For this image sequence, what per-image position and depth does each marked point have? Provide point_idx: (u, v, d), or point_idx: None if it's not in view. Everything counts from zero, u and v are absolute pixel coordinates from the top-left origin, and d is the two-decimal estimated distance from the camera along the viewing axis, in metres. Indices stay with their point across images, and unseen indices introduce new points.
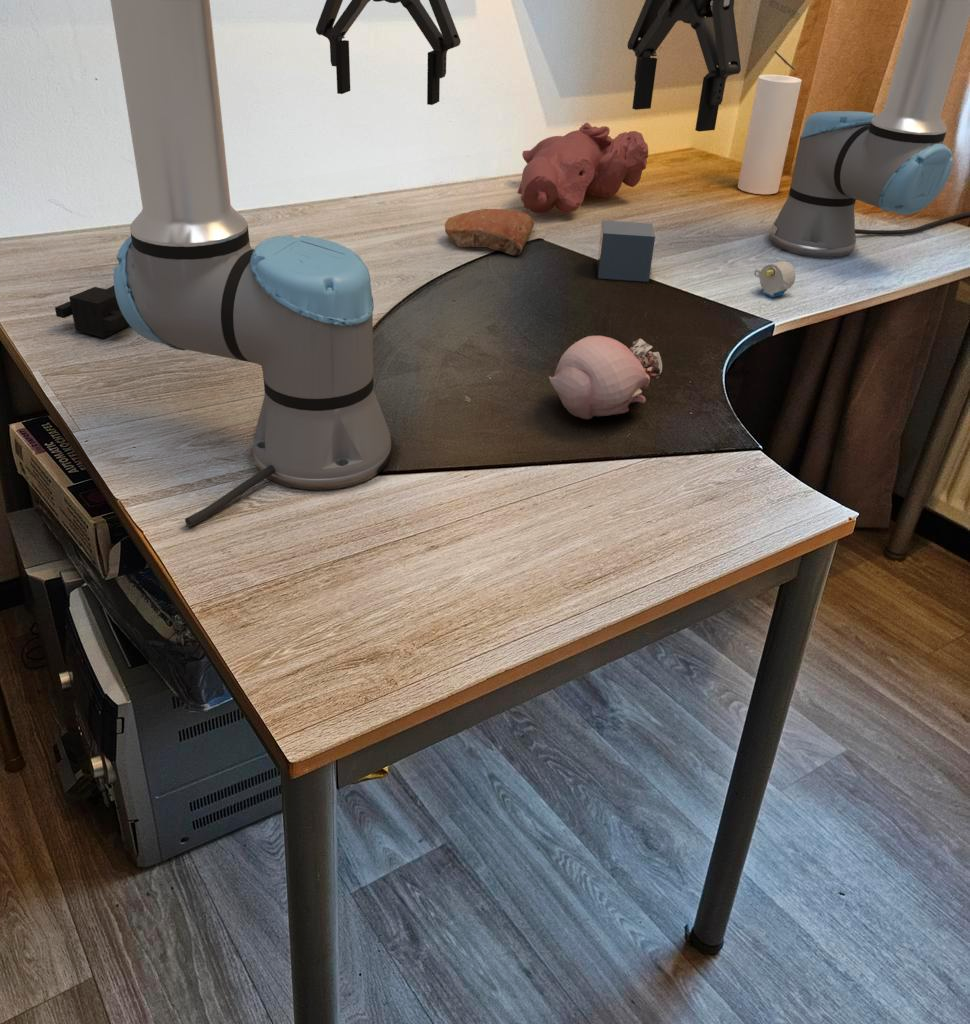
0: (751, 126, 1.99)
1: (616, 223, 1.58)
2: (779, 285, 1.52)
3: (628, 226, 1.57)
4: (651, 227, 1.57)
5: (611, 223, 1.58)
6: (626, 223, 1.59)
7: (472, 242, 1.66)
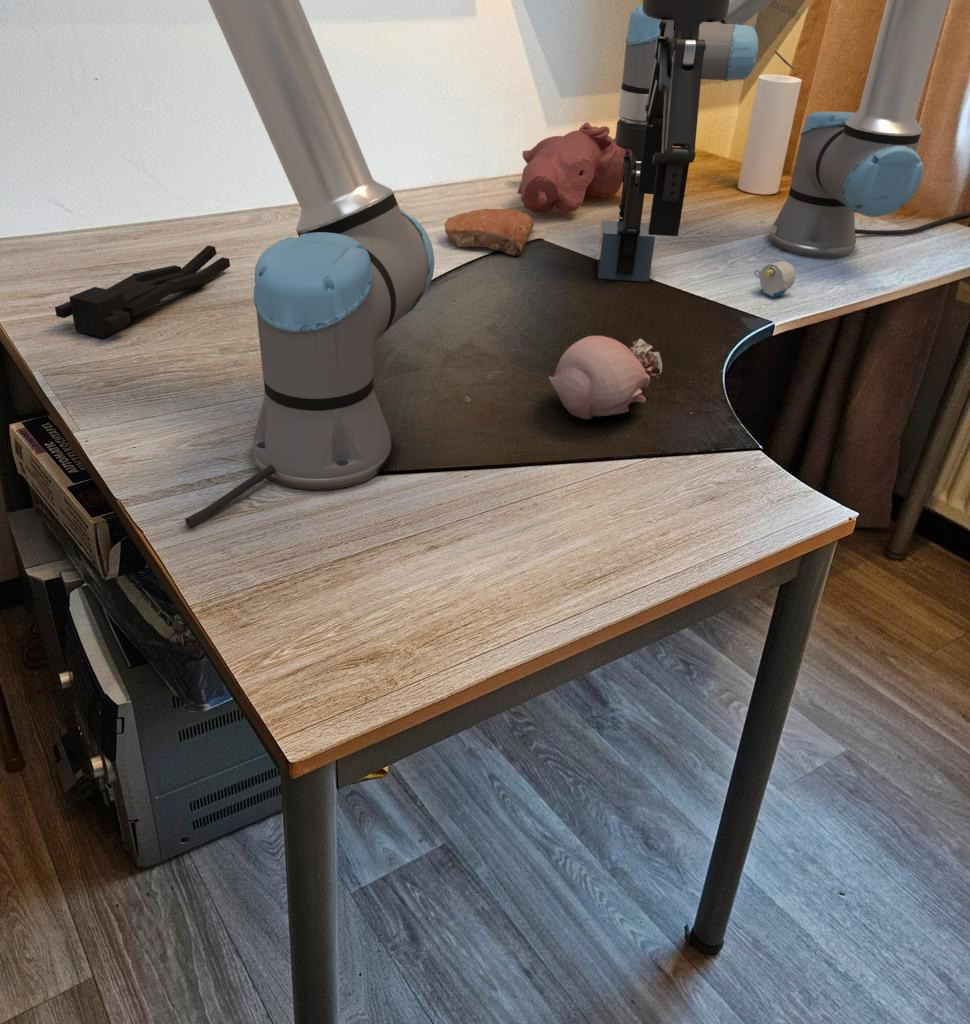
0: (751, 126, 1.99)
1: (616, 223, 1.58)
2: (779, 285, 1.52)
3: None
4: None
5: (611, 223, 1.58)
6: None
7: (472, 242, 1.66)
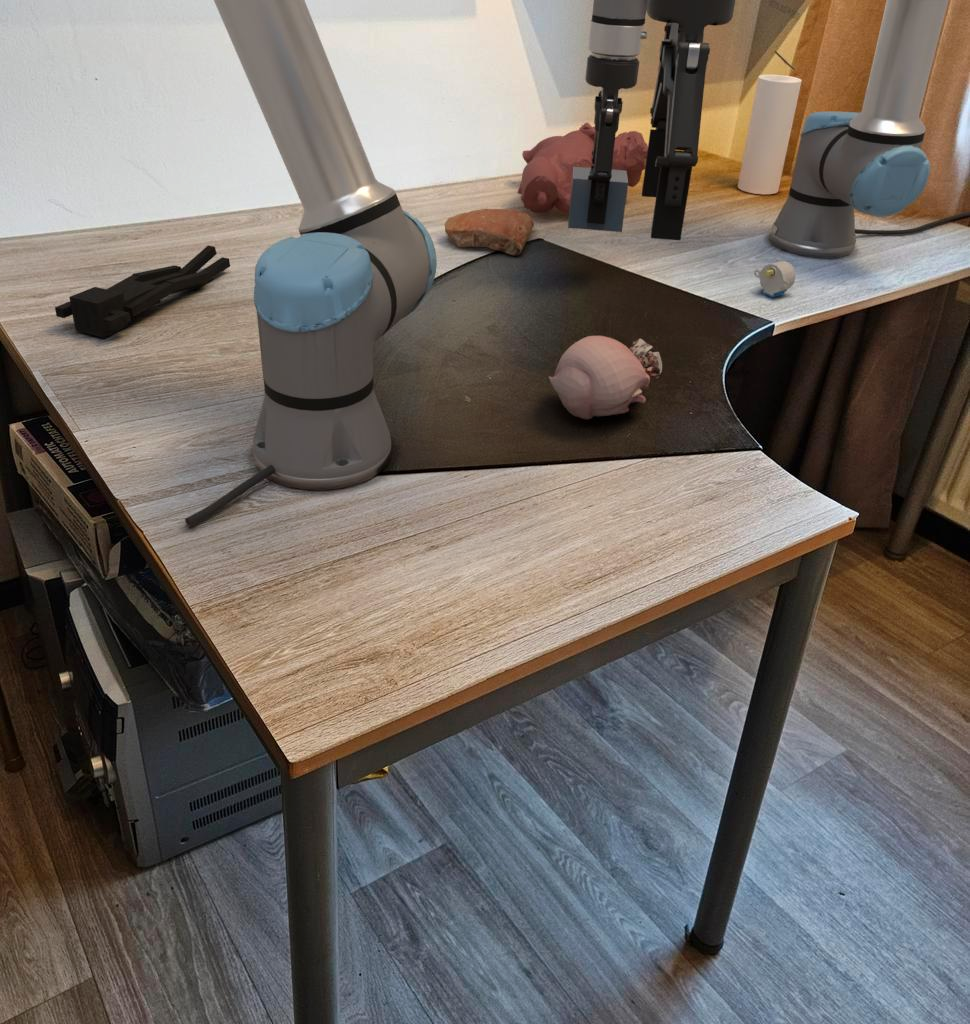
0: (751, 126, 1.99)
1: (588, 170, 1.49)
2: (779, 285, 1.52)
3: None
4: (625, 174, 1.48)
5: (582, 169, 1.49)
6: None
7: (472, 242, 1.66)
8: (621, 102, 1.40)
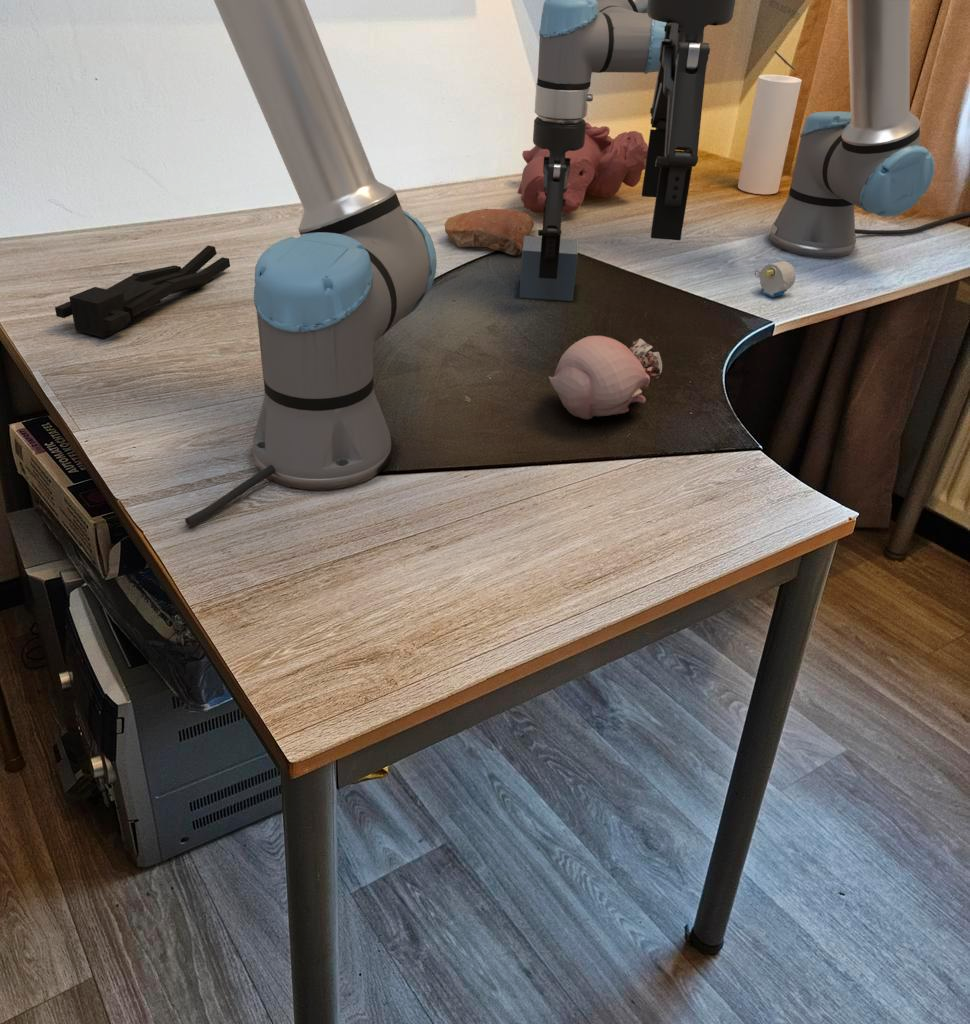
0: (751, 126, 1.99)
1: (539, 239, 1.50)
2: (779, 285, 1.52)
3: None
4: (575, 243, 1.49)
5: (533, 239, 1.50)
6: None
7: (472, 242, 1.66)
8: (569, 162, 1.40)
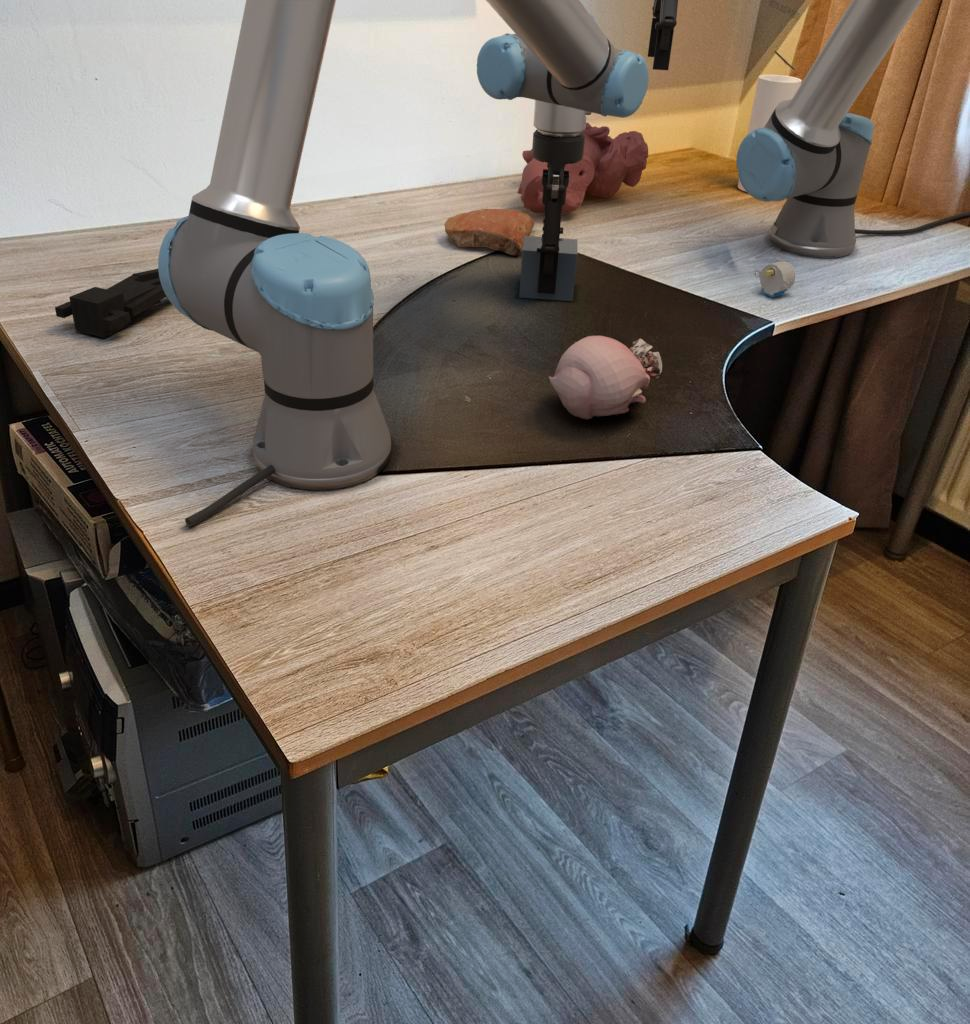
0: (751, 126, 1.99)
1: (539, 239, 1.50)
2: (779, 285, 1.52)
3: None
4: (575, 243, 1.49)
5: (533, 239, 1.50)
6: None
7: (472, 242, 1.66)
8: None
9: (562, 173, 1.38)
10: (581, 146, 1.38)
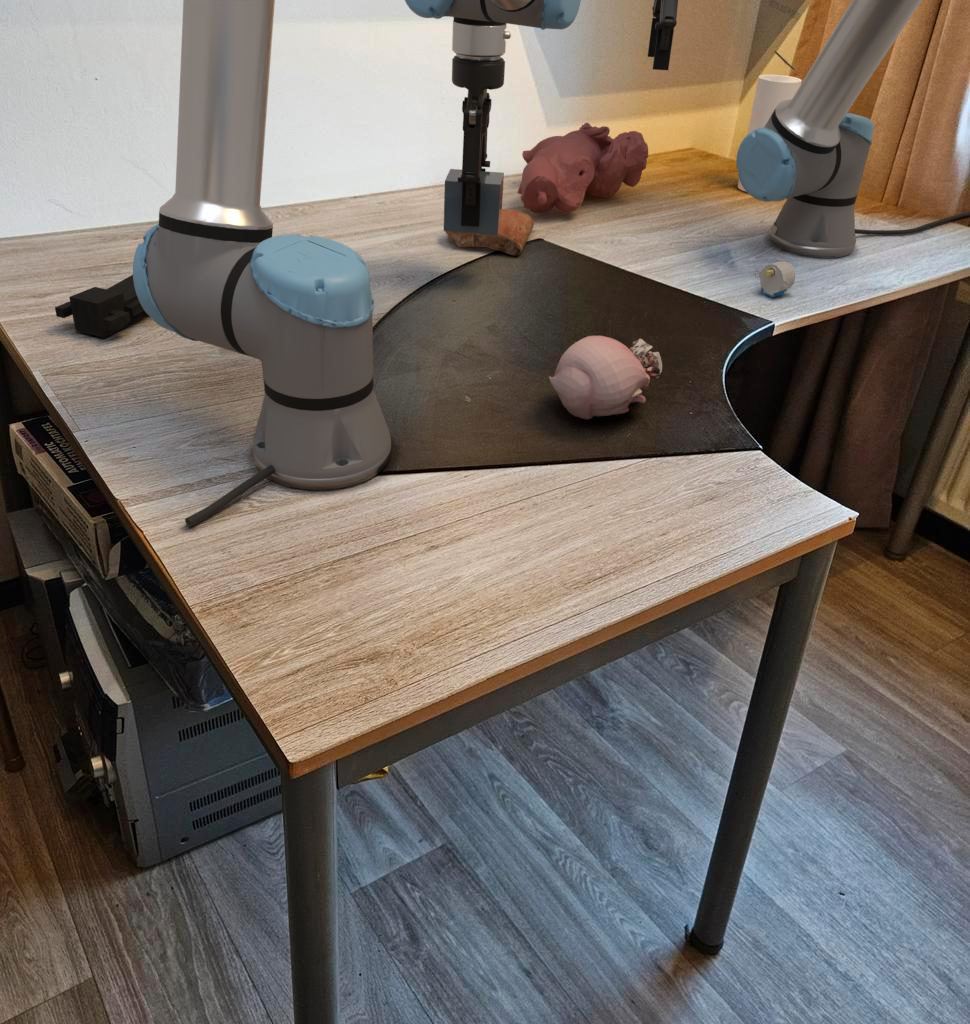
0: (751, 126, 1.99)
1: None
2: (779, 285, 1.52)
3: None
4: (500, 176, 1.46)
5: (458, 172, 1.47)
6: None
7: (472, 242, 1.66)
8: None
9: (481, 99, 1.36)
10: (500, 70, 1.35)
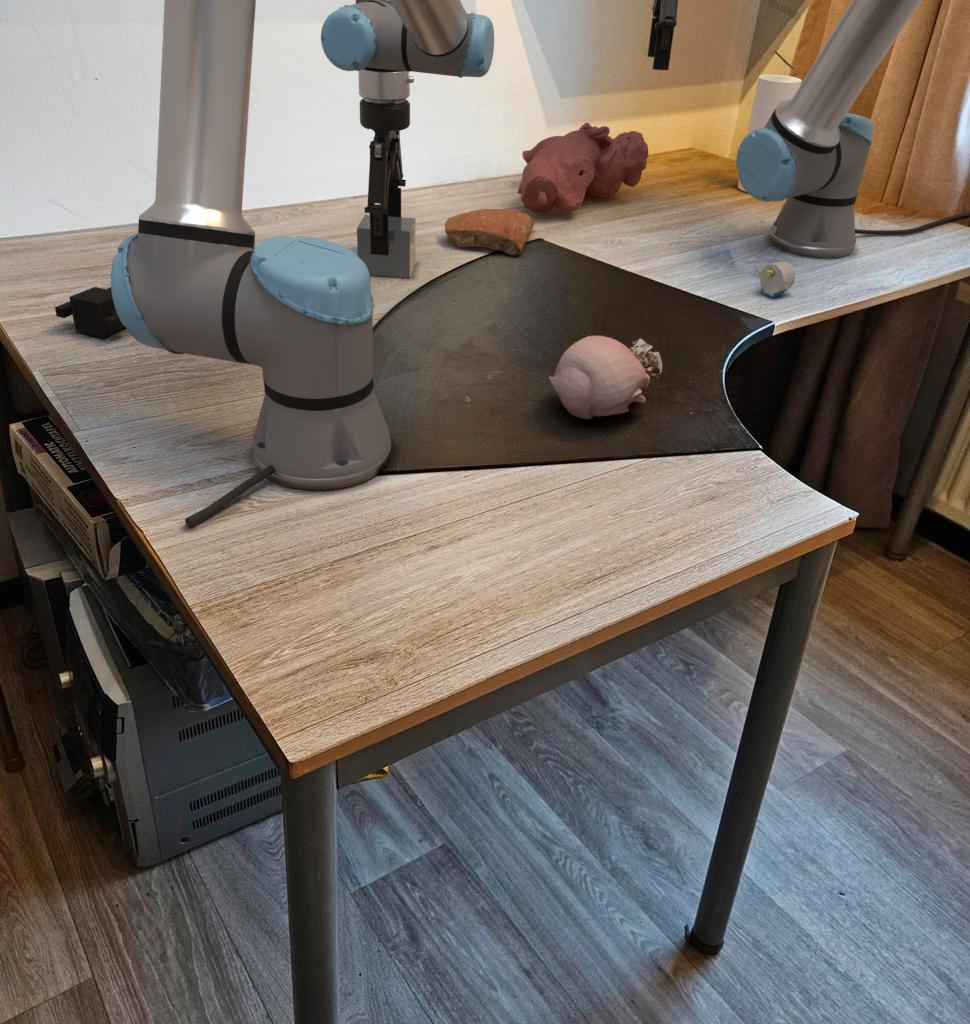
0: (751, 126, 1.99)
1: None
2: (779, 285, 1.52)
3: (388, 221, 1.54)
4: (411, 222, 1.54)
5: None
6: None
7: (472, 242, 1.66)
8: None
9: (387, 140, 1.43)
10: (405, 113, 1.42)
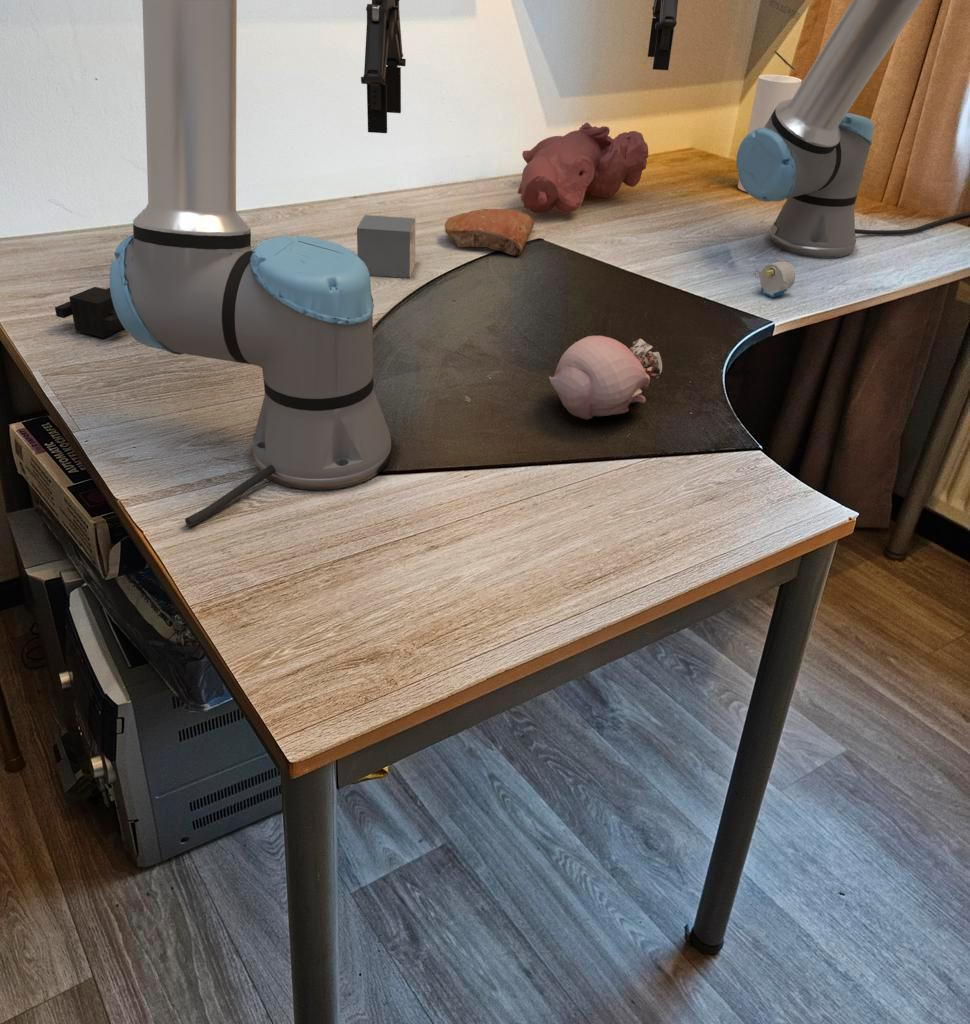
0: (751, 126, 1.99)
1: (377, 218, 1.55)
2: (779, 285, 1.52)
3: (388, 221, 1.54)
4: (411, 222, 1.54)
5: (371, 218, 1.55)
6: (387, 218, 1.55)
7: (472, 242, 1.66)
8: None
9: (385, 4, 1.33)
10: None
